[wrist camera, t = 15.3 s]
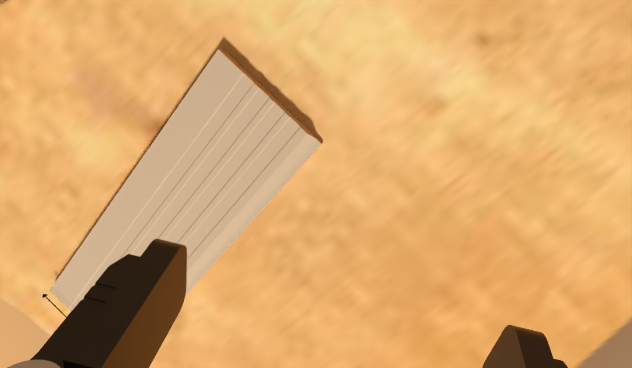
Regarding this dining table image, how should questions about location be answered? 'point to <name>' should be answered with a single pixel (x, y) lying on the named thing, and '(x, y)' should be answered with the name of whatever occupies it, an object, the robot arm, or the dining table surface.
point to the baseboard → (197, 178)
